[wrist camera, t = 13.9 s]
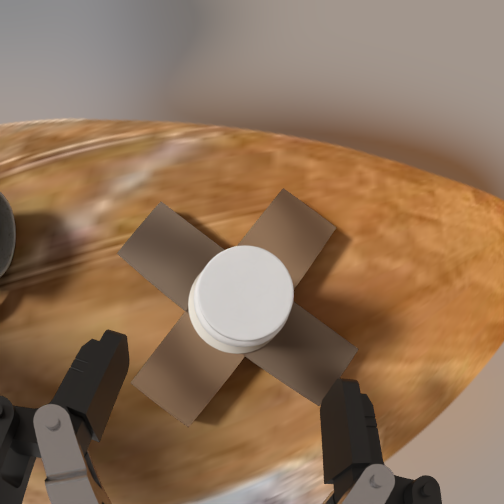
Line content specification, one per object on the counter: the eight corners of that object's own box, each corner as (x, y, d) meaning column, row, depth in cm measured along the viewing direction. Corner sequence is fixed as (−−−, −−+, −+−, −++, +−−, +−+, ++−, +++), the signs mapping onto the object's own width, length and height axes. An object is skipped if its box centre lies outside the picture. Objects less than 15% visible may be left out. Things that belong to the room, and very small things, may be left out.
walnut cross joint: (261, 464, 20) (264, 474, 18) (76, 322, 21) (64, 321, 19) (388, 281, 24) (400, 277, 22) (216, 154, 26) (216, 141, 24)
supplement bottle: (281, 286, 21) (318, 258, 13) (260, 352, 20) (284, 366, 12) (215, 263, 21) (211, 221, 13) (191, 328, 20) (171, 327, 12)
